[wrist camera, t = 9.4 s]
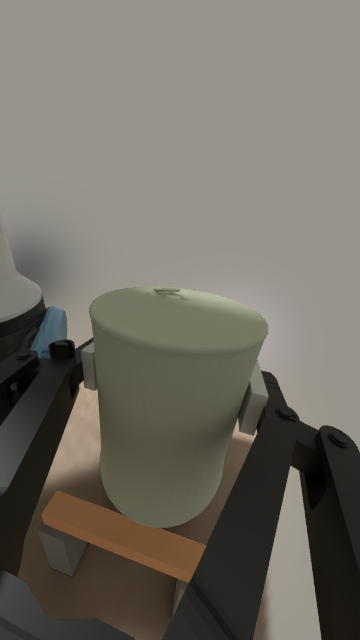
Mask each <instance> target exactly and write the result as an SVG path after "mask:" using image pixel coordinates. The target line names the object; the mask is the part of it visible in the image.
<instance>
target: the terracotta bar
mask: <svg viewBox="0 0 360 640" xmlns="http://www.w3.org/2000/svg"><path fill="white" fill-rule="evenodd" d="M41 516H42V519H43V522H44V524H45V525H47V526H50V527H52V528H55V529H57V530H60V531H62V532H64V533H67V534H69V535H72V536H74V537H77V538H79V539H82V540H84V541H87V542H89V543H91V544H94V545H96V546H99V547H101V548H104V549H106V550H109V551H111V552H114V553H116V554H118V555H121V556H123V557H126V558H128V559H131V560H133V561H136V562H138V563H141V564H143V565H145V566H148V567H150V568H153V569H155V570H158V571H160V572H163V573H165V574H168V575H170V576H172V577H175V578H177V579H180V580H182V581H185V582H187V583H189V582H190V580H191V578H192V576H193V574H194V572H195V570H196V568H197V565H198V563H199V561H200V559H201V557H202V554H203V552H204V550H205V548H206V546H207V545H204V544H202V543H199V542H196V541H193V540H191V539H188V538H185V537H183V536H180V535H177V534H174V533H172V532H169V531H166V530H164V529H161V528H153V527H147V526H144V525H141V524H138V523H136V522H134V521H132V520H130V519H129V518H127V517H126V516H125V515H123V514H120V513H118V512H115V511H112V510H110V509H107V508H104V507H101V506H99V505H96V504H93V503H91V502H88V501H85V500H82V499H80V498H77V497H74V496H72V495H69V494H66V493H64V492H61V491H58V490H57V491H56V493H55V494H54V496H53V497H52V498H51V500H50V501H49V503H48V504H47V506H46V507H45V509H44V510H43V511H42V513H41Z"/></svg>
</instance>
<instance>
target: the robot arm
mask: <svg viewBox="0 0 360 640" xmlns="http://www.w3.org/2000/svg"><path fill="white" fill-rule="evenodd" d="M83 380H84V388H87V389H91V390H94V391H95V390H96V389H97V375H96V363H95V350H94V339H93V338H92V339H90V340H89V341H87V342H85V343H84V344H82V345H81V346H79V347H78V348H76V349H75V345H74V342H73V341H72V340H67V317H66V315H65V311H64V310H63V309H61V308H56V307H54V306H50V307H48V308H46V307H45V304H44V300H43V296H42V292H41V288H40V287H39V286H38V285H37V284H35V283H34V282H32V281H30V280H29V279H27V278H25V277H23V276H22V275H20V274H19V273H18V272H17V271H16V268H15V265H14V261H13V258H12V253H11V250H10V246H9V243H8V239H7V235H6V231H5V228H4V224H3V220H2V217H1V213H0V640H135V638H133V637H131V636H129V635H127V634H126V633H124V632H122V631H120V630H118V629H116V628H114V627H112V626H110V625H108V624H106V623H104V622H102V621H101V620H99V619H97V618H93V619H56V620H55V619H50V618H49V617H48V616H47V614H46V613H45V611H44V610H43V608H42V607H41V605H40V603H39V602H38V600H37V599H36V597H35V596H34V594H33V593H32V591H31V589H30V588H29V586H28V585H27V583H26V582H25V581H23V580H21V579H20V578H18V577H17V574H18V571H19V568H20V563H21V559H22V552H23V544H24V539H25V536H26V533H27V530H28V527H29V524H30V522H31V519H32V516H33V514H34V511H35V508H36V505H37V503H38V500H39V497H40V495H41V492H42V489H43V487H44V484H45V481H46V478H47V476H48V473H49V470H50V468H51V465H52V462H53V460H54V457H55V454H56V451H57V449H58V446H59V443H60V441H61V438H62V435H63V433H64V430H65V427H66V424H67V422H68V419H69V416H70V414H71V411H72V408H73V406H74V403H75V400H76V397H77V395H78V392H79V384H80V383H81V382H82V381H83ZM238 422H239V432H242V433H246V434H249V435H253V436H254V434H255V431H256V429H257V435H256V438H255V440H254V442H253V444H252V446H251V449H250V451H249V453H248V455H247V457H246V460H245V462H244V464H243V466H242V468H241V471H240V473H239V475H238V477H237V479H236V482H235V484H234V486H233V488H232V490H231V493H230V495H229V497H228V499H227V501H226V504H225V506H224V508H223V510H222V512H221V515H220V517H219V519H218V521H217V524H216V526H215V528H214V530H213V532H212V535H211V537H210V539H209V541H208V543H207V546H206V548H205V550H204V552H203V554H202V557H201V559H200V561H199V563H198V565H197V568H196V570H195V572H194V574H193V576H192V578H191V580H190V582H189V583H188V585H187V588H186V590H185V592H184V594H183V596H182V598H181V600H180V602H179V605H178V607H177V609H176V611H175V613H174V615H173V618H172V620H171V622H170V624H169V626H168V629H167V631H166V633H165V635H164V637H163V639H162V640H253V635H254V631H255V626H256V621H257V617H258V612H259V607H260V603H261V598H262V594H263V589H264V584H265V580H266V575H267V570H268V566H269V561H270V557H271V552H272V547H273V543H274V538H275V533H276V529H277V524H278V520H279V515H280V510H281V506H282V501H283V497H284V492H285V487H286V483H287V478H288V473H289V469H290V465H291V466H292V467H294V468H296V469H297V470H299V473H300V480H301V488H302V495H303V503H304V510H305V518H306V525H307V533H308V541H309V548H310V554H311V555H310V556H311V563H312V571H313V578H314V586H315V593H316V601H317V608H318V616H319V623H320V631H321V638H322V640H360V452H359V450H358V447H357V446H356V444H355V443H354V441H353V440H351V438H350V437H349V436H348V435H346V434H345V433H343V432H342V431H340V430H339V429H336V428H334V427H331V426H322V427H321V428H320V429H319V430H317V429H315V428H313V427H311V426H309V425H307V424H304V423H303V422H301V421H300V420H299V417H298V415H297V414H296V413H295V412H294V411H293V410H292V409H291V408H289V407H288V406H287V404H286V401H285V399H284V397H283V394H282V392H281V390H280V387H279V385H278V382H277V379H276V378H275V377H274V376H273V375H272V374H271V373H269V372H265V371H261V370H260V366H259V363H258V360H257V361H256V364H255V367H254V370H253V373H252V376H251V379H250V382H249V385H248V388H247V391H246V394H245V397H244V400H243V403H242V406H241V409H240V412H239V415H238Z"/></svg>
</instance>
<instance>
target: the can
mask: <svg viewBox="0 0 360 640" xmlns="http://www.w3.org/2000/svg"><path fill="white" fill-rule="evenodd" d="M89 314H90V317H91V322H92V329H93V339H94V350H95V363H96V375H97V388H98V400H99V417H100V433H101V453H100V474H101V479H102V483H103V486H104V489H105V491H106V493H107V495H108V497H109V499H110V500H111V502H112V503H113V504H114V506H115V507H116V508H117V509H118V510H119V511H120V512H121V513H122V514H123V515H125V516H126V517H127V518H129V519H130V520H132V521H134V522H136V523H138V524H141V525H144V526H147V527H153V528H168V527H174V526H177V525H181V524H183V523H185V522H188V521H189V520H191V519H193V518H195V517H196V516H197V515H199V514H200V513H201V512H202V511H203V510H204V509H205V508H206V507H207V506H208V505H209V504H210V502H211V501H212V499H213V498H214V496H215V494H216V492H217V490H218V488H219V485H220V482H221V479H222V475H223V468H224V461H225V457H226V454H227V450H228V447H229V444H230V441H231V437H232V434H233V431H234V428H235V425H236V422H237V419H238V415H239V412H240V409H241V406H242V403H243V400H244V397H245V394H246V391H247V388H248V385H249V382H250V379H251V376H252V373H253V370H254V367H255V364H256V361H257V358H258V355H259V352H260V349H261V347H262V344H263V341H264V339H265V338H266V336H267V334H268V324H267V322H266V320H265V319H264V318H263V317H262V316H261V315H260V314H259V313H257V312H256V311H255V310H253V309H251V308H250V307H248V306H246V305H244V304H241V303H239V302H237V301H234V300H231V299H228V298H225V297H222V296H218V295H215V294H211V293H206V292H201V291H196V290H189V289H182V288H171V287H133V288H125V289H119V290H115V291H111V292H108V293H105V294H103V295H101V296H99V297H97V298H96V299H95V300H94V301H93V302H92V303H91V305H90V309H89Z"/></svg>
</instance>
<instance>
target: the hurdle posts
mask: <svg viewBox="0 0 360 640" xmlns="http://www.w3.org/2000/svg"><path fill="white" fill-rule="evenodd" d="M38 533H39V536H40V539H41V542H42V545H43V547H44V550H45V553H46V556H47V559H48V562H49V565H50V567H51V568H53V569H56V570H58V571H60V572H62V573H65V574H67V575H69V576H71V577H72V576H73V574H74V572H75V570H76V568H77V565H78V563H79V561H80V559H81V557H82V554H83V552H84V550H85V548H86V546H87V544H88V542H87V541H84V540H82V539H79V538H77V537H74V536H72V535H69V534H67V533H64V532H62V531H60V530H57V529H55V528H52V527H50V526H47V525H45V524H44V522H43V523H42V524H41V526H40V527H39V529H38ZM187 585H188V583H187V582H185V581H182V580H180V579H177V580H176V588H175V595H174V602H173V610H172V617H171V620H172V618H173V615H174V613H175V611H176V609H177V607H178V605H179V602H180V600H181V598H182V596H183V594H184V592H185V590H186V588H187Z"/></svg>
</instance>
